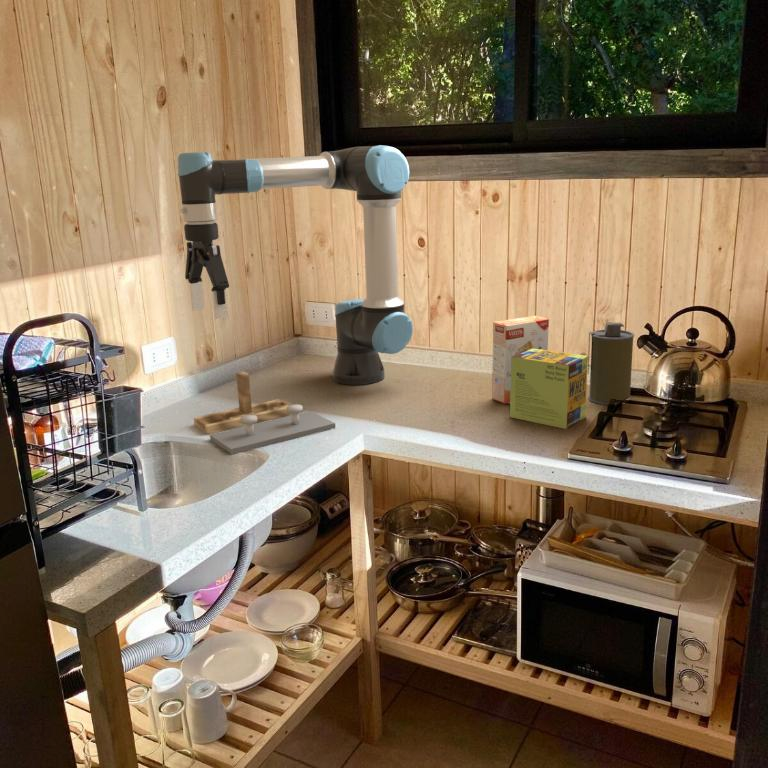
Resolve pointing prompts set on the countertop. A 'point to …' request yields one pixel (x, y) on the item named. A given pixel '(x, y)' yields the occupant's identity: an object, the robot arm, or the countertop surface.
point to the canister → (610, 364)
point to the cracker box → (514, 349)
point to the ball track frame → (242, 410)
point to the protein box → (548, 387)
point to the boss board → (271, 430)
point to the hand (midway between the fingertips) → (209, 314)
